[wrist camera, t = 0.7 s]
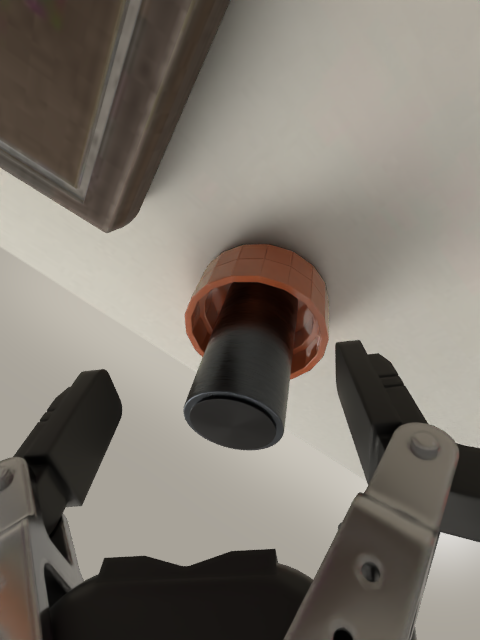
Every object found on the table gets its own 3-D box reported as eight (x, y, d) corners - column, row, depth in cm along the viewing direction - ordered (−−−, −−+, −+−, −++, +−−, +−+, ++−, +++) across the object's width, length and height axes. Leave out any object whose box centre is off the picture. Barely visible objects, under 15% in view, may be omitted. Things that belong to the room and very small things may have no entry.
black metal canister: (285, 335, 28) (267, 462, 20) (221, 316, 28) (178, 435, 20) (308, 283, 24) (298, 414, 16) (235, 261, 24) (187, 381, 16)
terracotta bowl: (302, 355, 30) (299, 396, 27) (194, 322, 30) (178, 359, 27) (351, 264, 23) (355, 304, 20) (212, 222, 23) (192, 255, 20)
